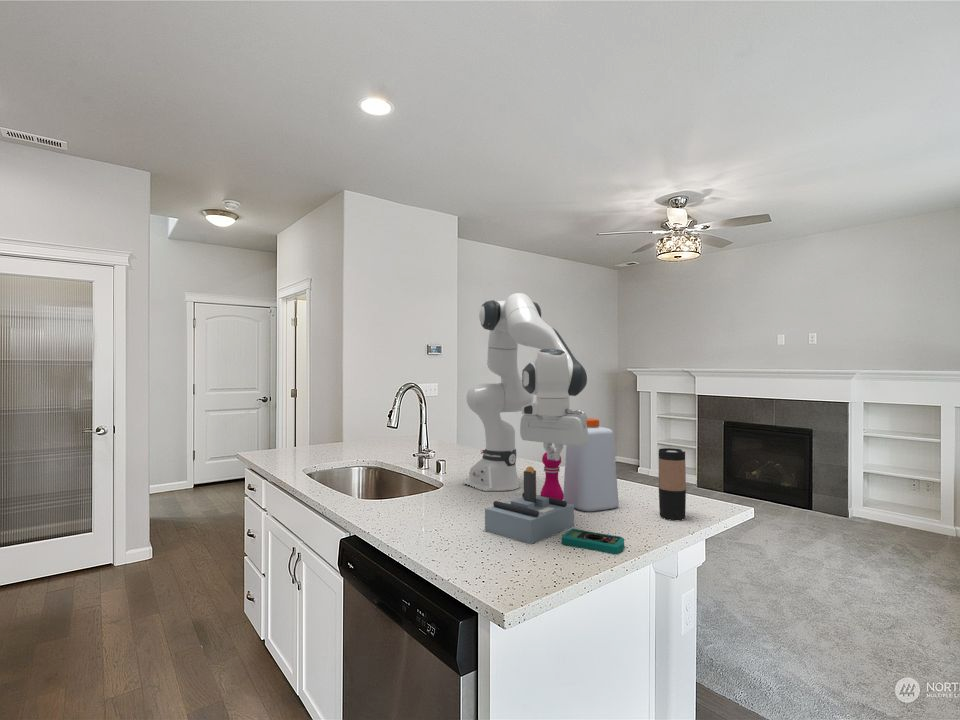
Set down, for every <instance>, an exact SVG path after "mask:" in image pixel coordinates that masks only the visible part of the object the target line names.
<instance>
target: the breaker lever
mask: <svg viewBox="0 0 960 720" xmlns="http://www.w3.org/2000/svg"><path fill="white" fill-rule="evenodd" d="M523 493H524V501H529V502H533V503H534V505H535V503H536V495H537V471H536V470H535V469H534V467H532V466H527V467H526V468H525V470H523Z"/></svg>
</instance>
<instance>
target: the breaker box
mask: <svg viewBox="0 0 960 720" xmlns="http://www.w3.org/2000/svg"><path fill="white" fill-rule="evenodd" d="M537 495H538V494H536V503H535V505H534V503H533V502H529V501H524V497H523V496H521V497H518V498H515V499H512V500H509V501H506V502H504V503H507V504H511V505H515V506H520V507H524V508H528V509H532V510H536V511H538V512H539V516H538V517H534V516H530V515H526V514H522V513H518V512H514V511H510V510H506V509H502V508H498V507H495V506H494V505H492V506H489V507H487V508H484V531H485V530H486V532H489V533H492V532H493V533H492V534H495V533H496V535H499V536H503V537H506V538H509V539H511V540H512V539H513V540H515V541H519V542H523V543H525V544H529V545H532V544H535V543H537V542H539V541H541V540H544V539H547V538H550V537H552V536H554V535H556V534H559V533H561V532H562V531H565V530H568V529H571V528H572V527H575V508H574V505H573V504H569V503H567V505H566V506H565V507H563V506H559V505H554V504H550V503H549V498H547V497H542V496H541V495H540V496H537Z"/></svg>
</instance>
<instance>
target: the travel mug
mask: <svg viewBox="0 0 960 720" xmlns="http://www.w3.org/2000/svg"><path fill="white" fill-rule="evenodd" d="M686 478H687V476H686V451H684V450H682V449H681V448H673V447H669V448H666V447H664V448H658V500H659V502H658V503H659V504H658V505H659V507H658V508H659V516H661V517H663V518H662V519H664V518H665V519H664V520H667V519H671V520H670V521H674V520H679V521H683V520H682V519H684V520H686V509H687V508H686V500H687V499H686V498H687V484H686V483H687V482H686V481H687V479H686ZM661 517H660V518H661Z"/></svg>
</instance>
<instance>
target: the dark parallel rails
mask: <svg viewBox="0 0 960 720" xmlns="http://www.w3.org/2000/svg"><path fill="white" fill-rule="evenodd" d="M536 495H537V496H541V494H540V495H539V494H536ZM521 497H524V492H523V493H522V494H521ZM542 497H544V496H542ZM547 498H549V497H547ZM549 503H550V504H554V505H559V506H563V507H565V506H566V505H567V502H566V501H564V500H559V499H554V498H549ZM492 506H495V507H498V508H502V509H506V510H510V511H514V512H518V513H522V514H526V515H530V516H534V517H538V516H539V512H538V511H536V510H532V509H528V508H524V507H520V506H515V505H511V504H507V503H505V502H502V501H497V500H494V501H493V503H492Z"/></svg>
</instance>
